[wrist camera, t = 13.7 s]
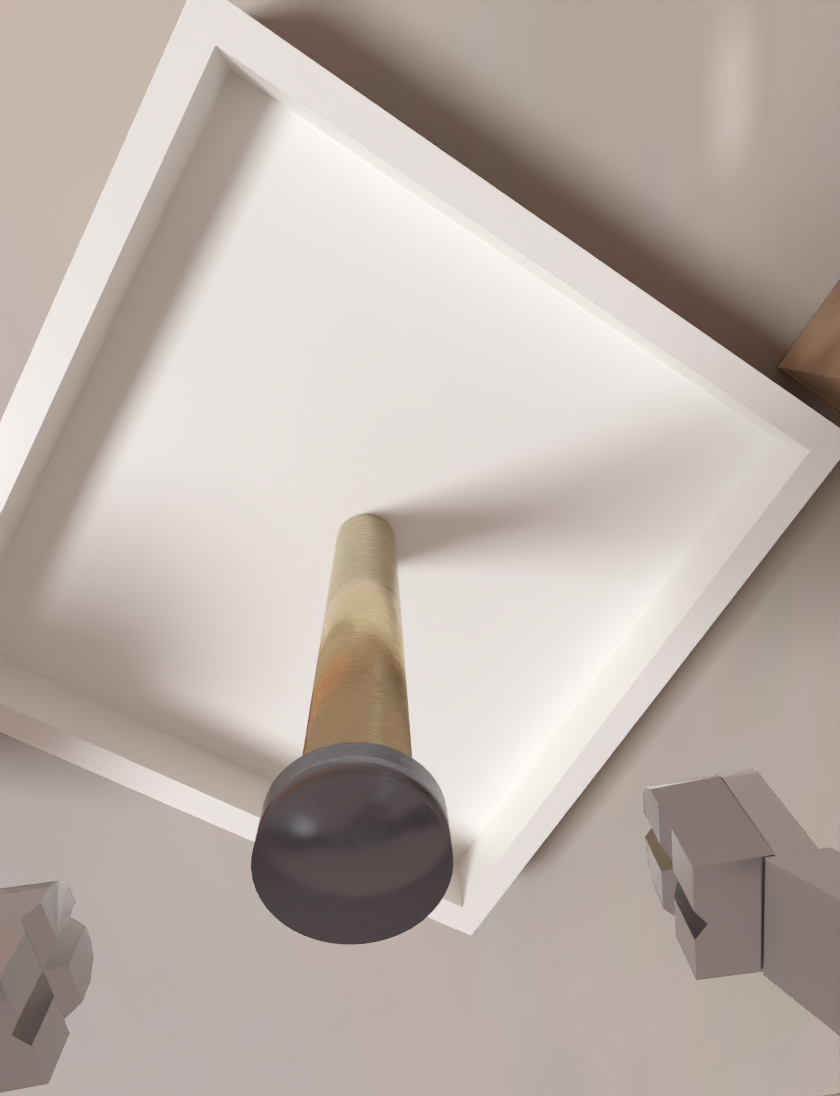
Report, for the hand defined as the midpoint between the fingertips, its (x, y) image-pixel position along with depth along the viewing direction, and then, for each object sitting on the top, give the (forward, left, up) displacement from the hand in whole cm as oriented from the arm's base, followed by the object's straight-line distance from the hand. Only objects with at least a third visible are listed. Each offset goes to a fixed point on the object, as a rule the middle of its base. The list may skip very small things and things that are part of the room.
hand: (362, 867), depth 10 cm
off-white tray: (0, 0, -16) cm, 16 cm away
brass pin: (0, 0, -16) cm, 16 cm away
